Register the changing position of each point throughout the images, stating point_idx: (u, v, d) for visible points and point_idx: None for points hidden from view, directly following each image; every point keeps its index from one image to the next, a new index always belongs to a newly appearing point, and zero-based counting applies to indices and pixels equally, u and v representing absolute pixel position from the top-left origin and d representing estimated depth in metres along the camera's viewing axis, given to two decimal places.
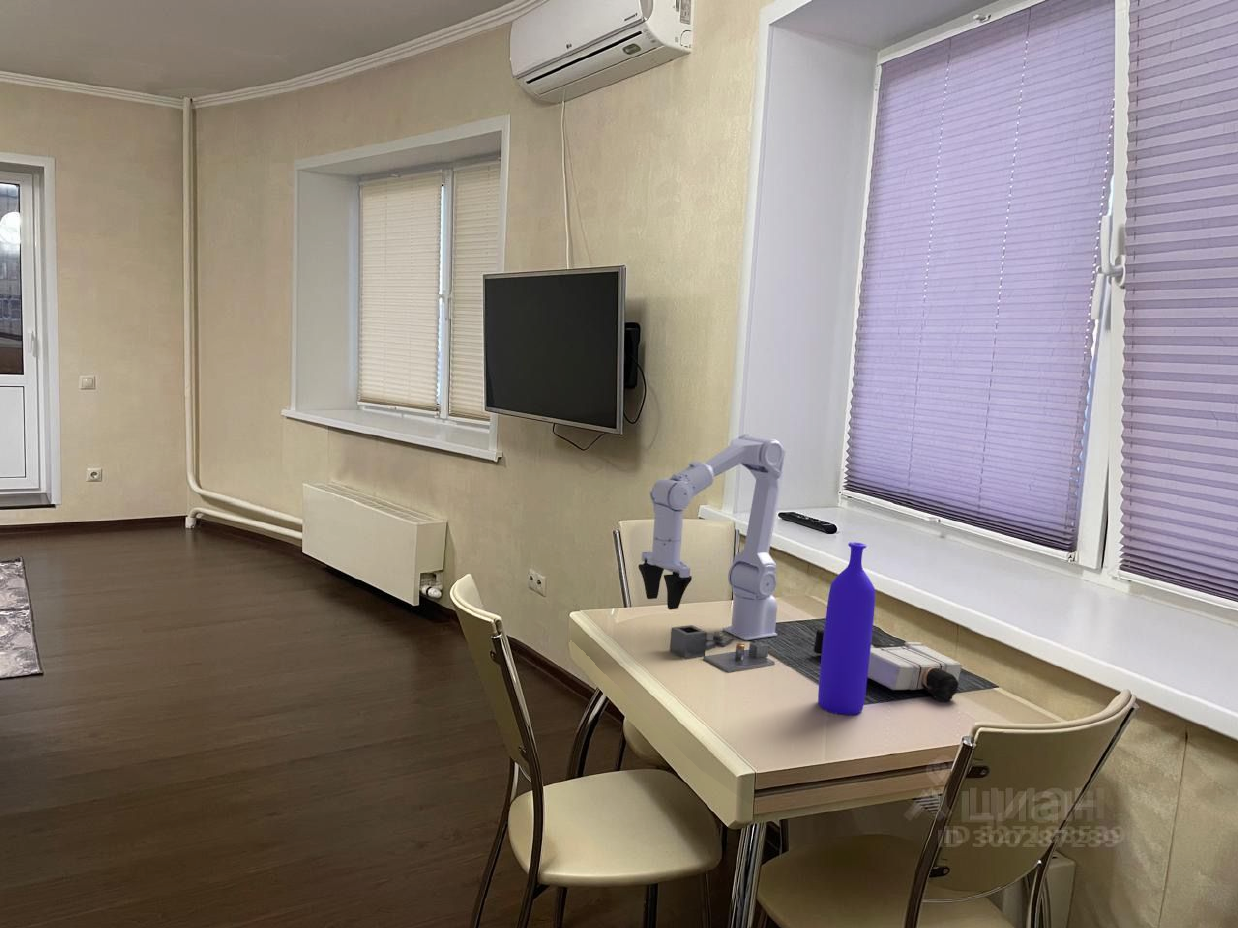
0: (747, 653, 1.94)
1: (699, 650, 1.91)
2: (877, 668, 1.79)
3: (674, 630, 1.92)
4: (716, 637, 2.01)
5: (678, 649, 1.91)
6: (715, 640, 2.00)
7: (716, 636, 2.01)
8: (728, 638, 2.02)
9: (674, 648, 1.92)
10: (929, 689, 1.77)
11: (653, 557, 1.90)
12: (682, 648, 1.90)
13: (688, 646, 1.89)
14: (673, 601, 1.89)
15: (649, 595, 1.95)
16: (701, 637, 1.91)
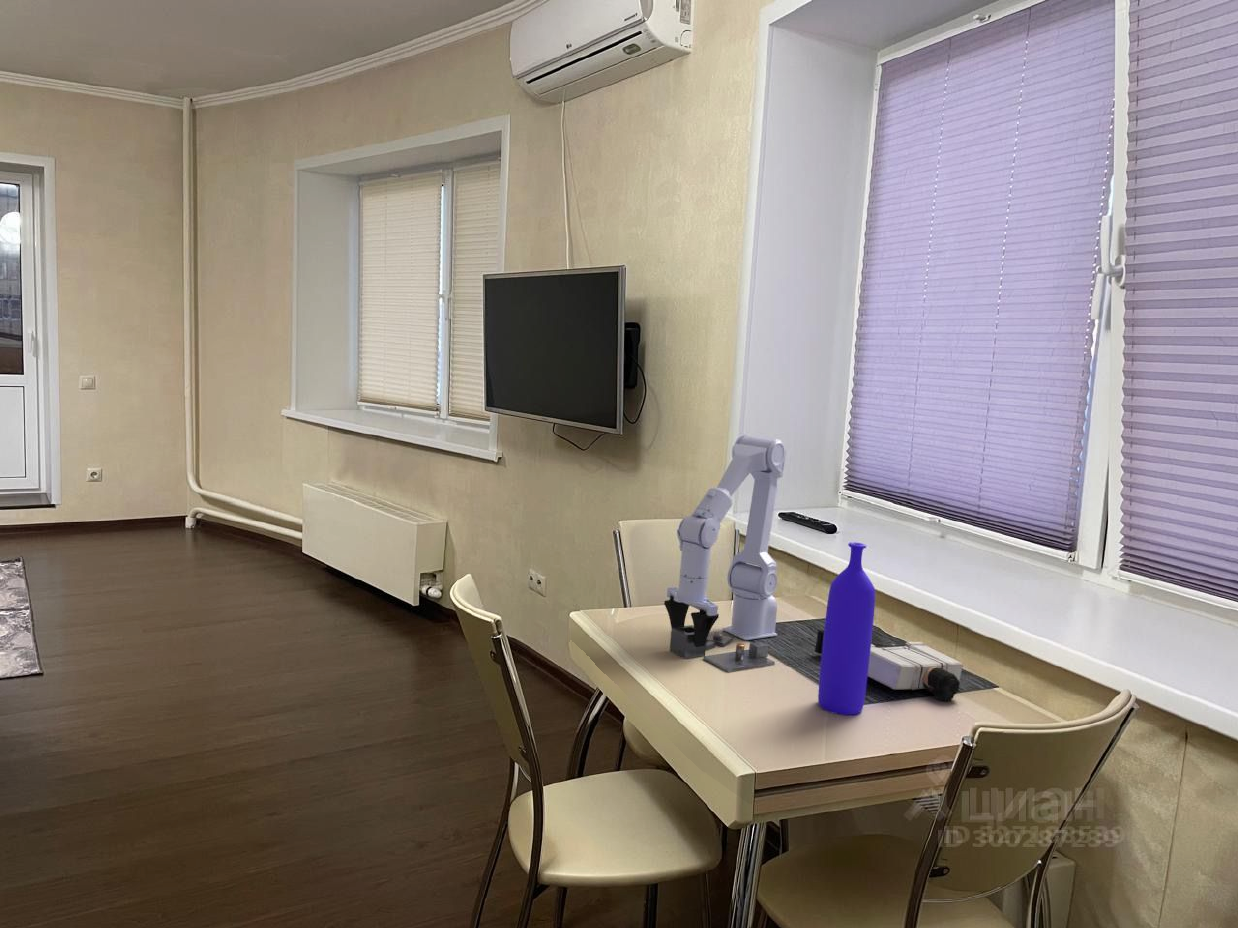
0: (747, 653, 1.94)
1: (699, 650, 1.91)
2: (878, 668, 1.79)
3: (674, 630, 1.92)
4: (716, 637, 2.01)
5: (678, 649, 1.91)
6: (715, 640, 2.00)
7: (716, 636, 2.01)
8: (728, 638, 2.02)
9: (674, 648, 1.92)
10: (930, 689, 1.77)
11: (680, 594, 1.90)
12: (682, 648, 1.90)
13: (688, 646, 1.89)
14: (700, 639, 1.89)
15: None
16: None
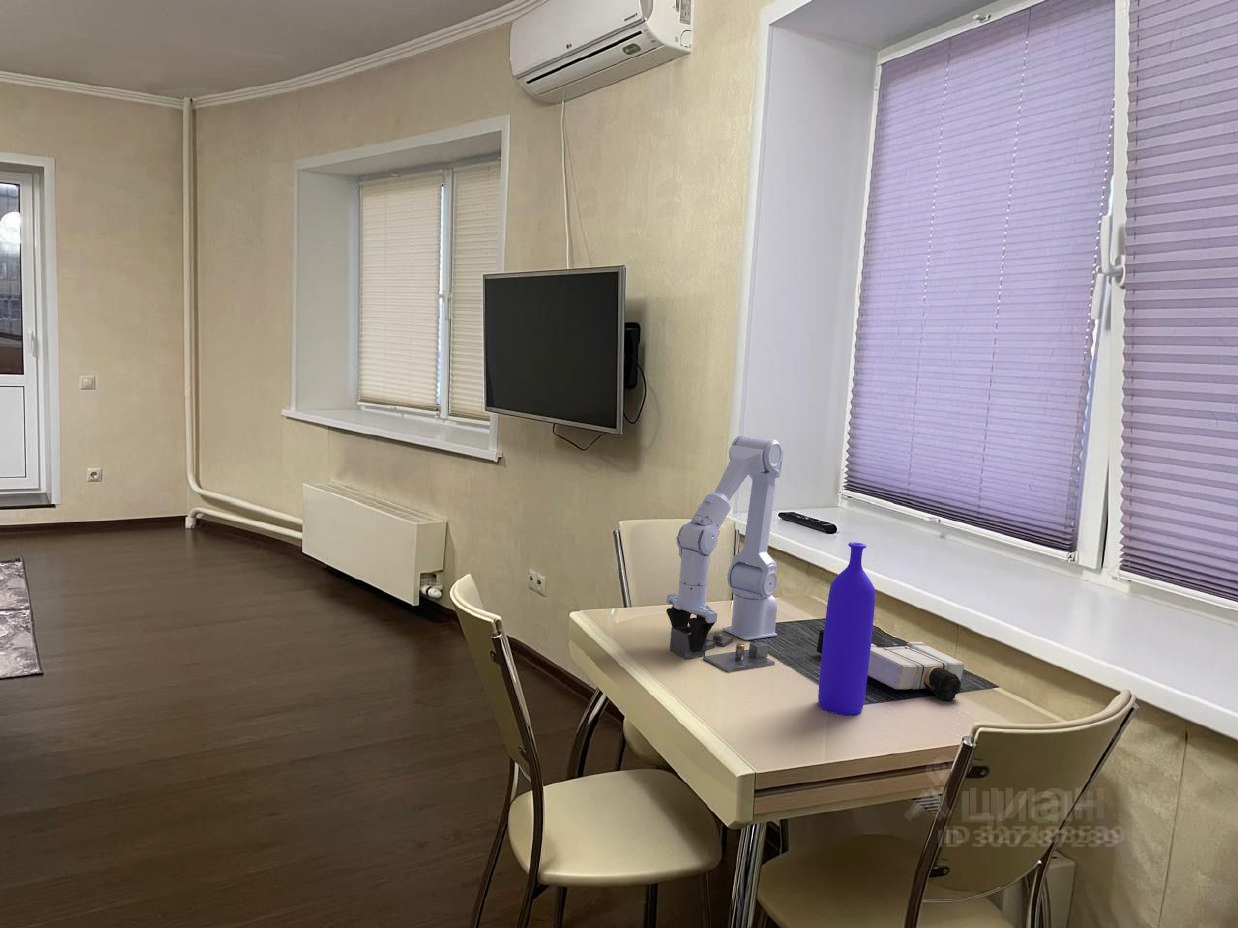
0: (747, 653, 1.94)
1: None
2: (880, 667, 1.79)
3: (674, 630, 1.92)
4: (716, 637, 2.01)
5: (678, 649, 1.91)
6: (715, 640, 2.00)
7: (716, 636, 2.01)
8: (728, 638, 2.02)
9: (674, 648, 1.92)
10: (932, 688, 1.78)
11: (679, 601, 1.90)
12: (682, 648, 1.90)
13: (688, 646, 1.89)
14: (697, 644, 1.90)
15: None
16: None
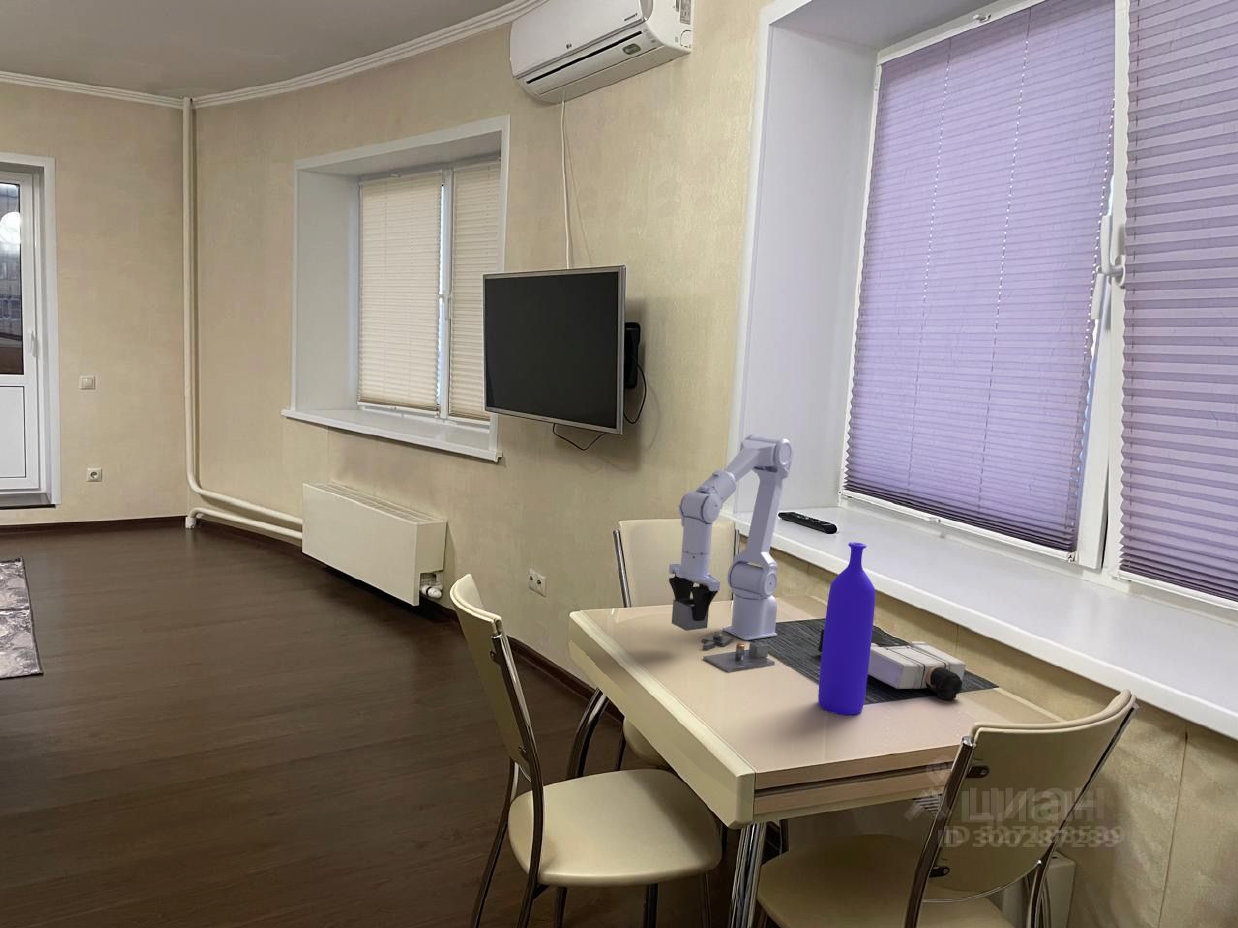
0: (747, 653, 1.94)
1: (701, 622, 1.90)
2: (881, 667, 1.80)
3: (676, 602, 1.91)
4: (716, 637, 2.01)
5: (680, 621, 1.90)
6: (715, 640, 2.00)
7: (716, 636, 2.01)
8: (728, 638, 2.02)
9: (676, 620, 1.92)
10: (933, 688, 1.78)
11: (682, 570, 1.89)
12: (684, 620, 1.89)
13: (690, 618, 1.89)
14: (699, 613, 1.89)
15: None
16: None
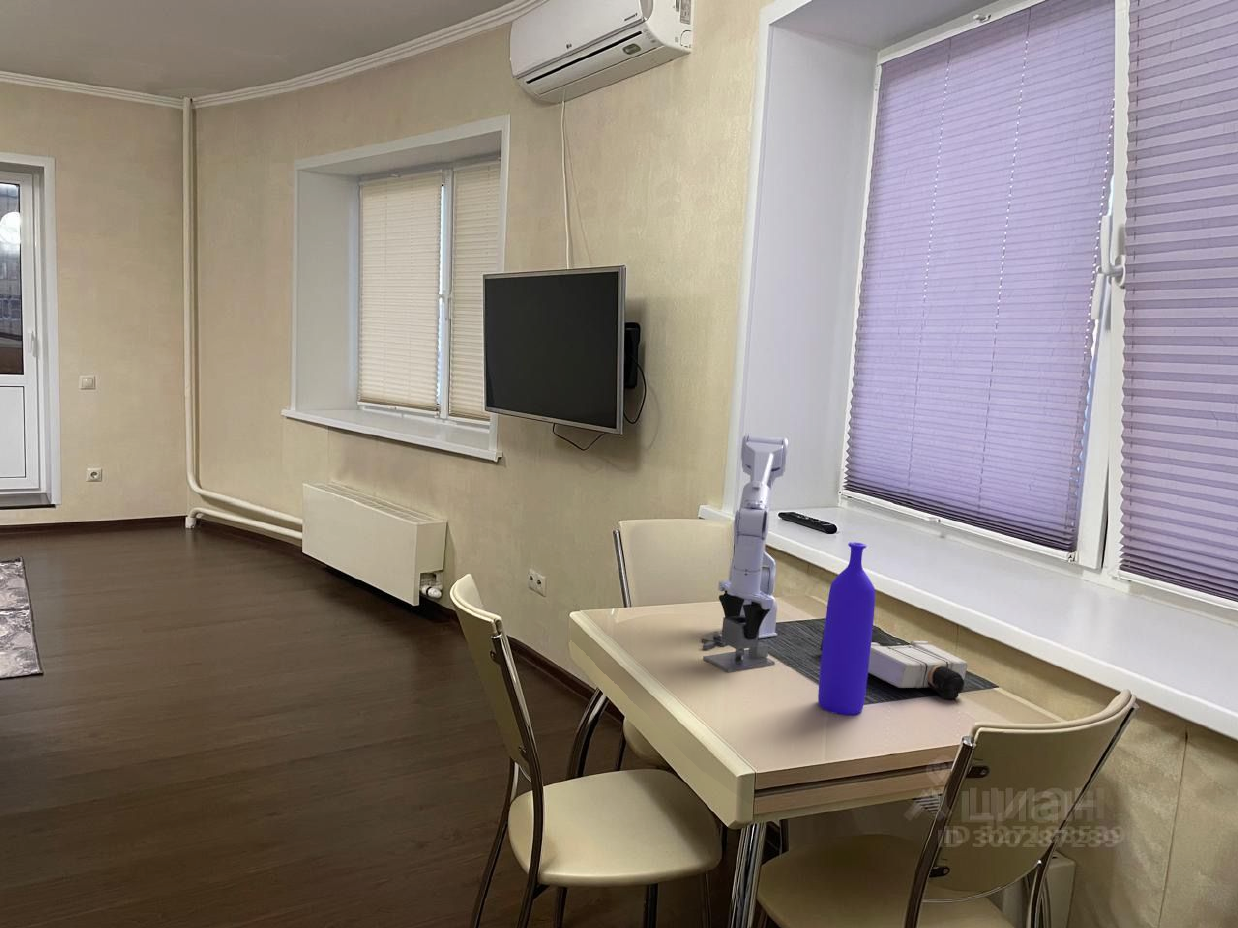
0: (747, 653, 1.94)
1: (752, 640, 1.88)
2: (883, 666, 1.80)
3: (726, 620, 1.89)
4: (716, 637, 2.01)
5: (730, 639, 1.88)
6: (715, 640, 2.00)
7: (716, 636, 2.01)
8: None
9: (726, 638, 1.89)
10: (935, 687, 1.78)
11: (733, 587, 1.87)
12: (734, 639, 1.86)
13: (741, 636, 1.86)
14: (751, 631, 1.86)
15: None
16: None
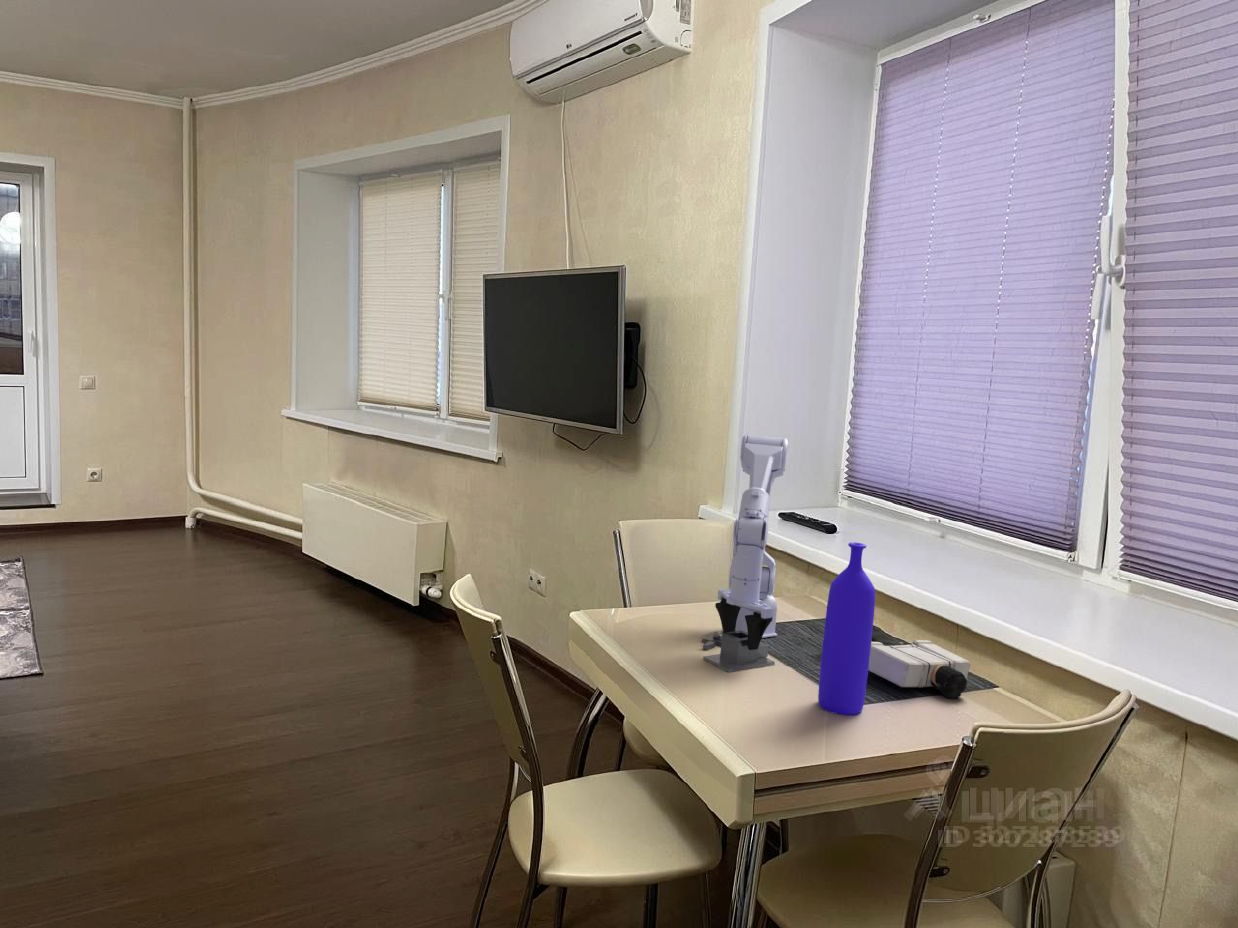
0: None
1: (751, 656, 1.88)
2: (886, 665, 1.81)
3: (725, 635, 1.89)
4: (716, 637, 2.01)
5: (729, 655, 1.88)
6: (715, 640, 2.00)
7: (716, 636, 2.01)
8: None
9: (725, 654, 1.89)
10: (938, 686, 1.79)
11: (732, 596, 1.87)
12: (734, 654, 1.87)
13: (740, 652, 1.86)
14: (753, 641, 1.86)
15: None
16: None
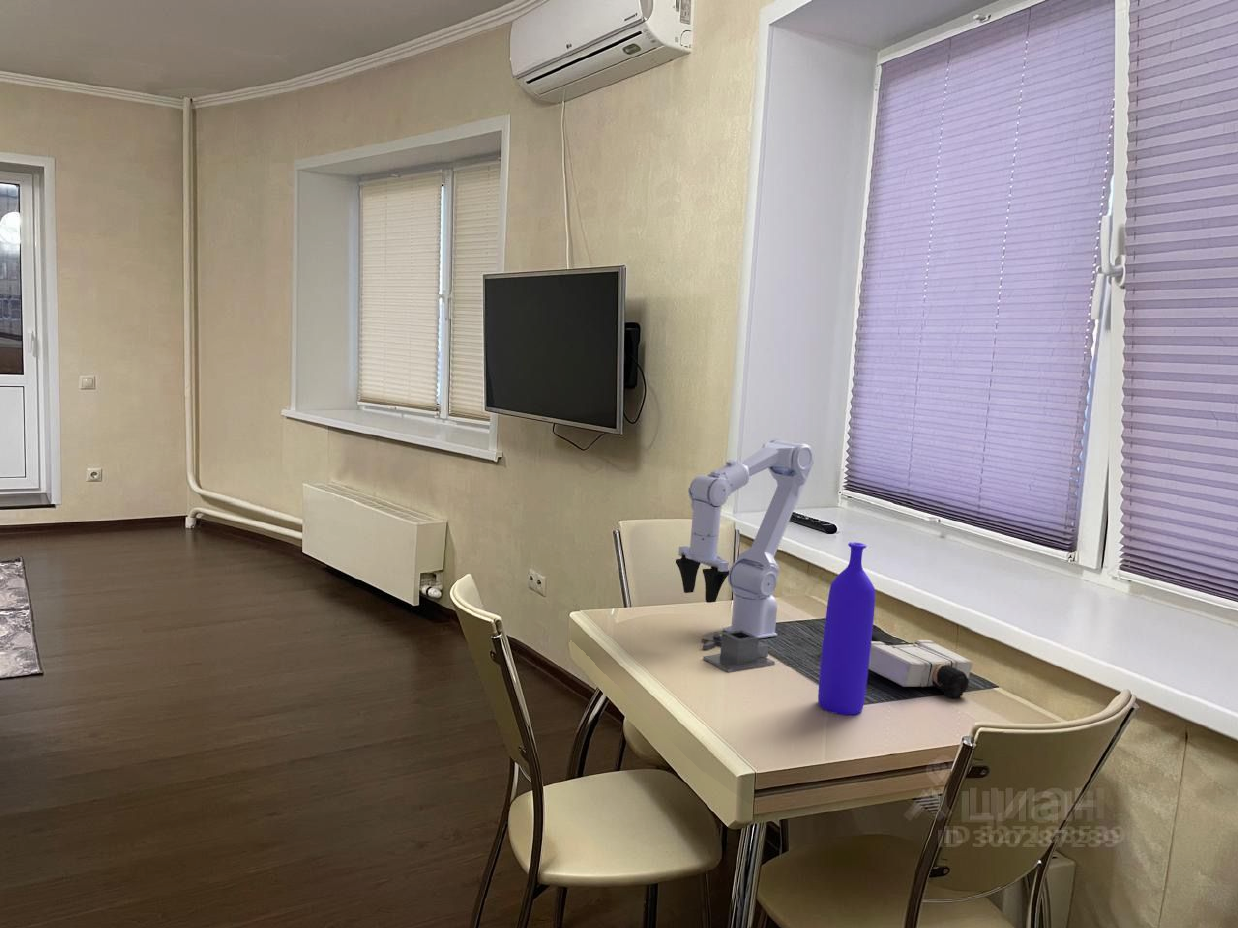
0: None
1: (751, 656, 1.88)
2: (888, 665, 1.81)
3: (725, 635, 1.89)
4: (716, 637, 2.01)
5: (729, 655, 1.88)
6: (715, 640, 2.00)
7: (716, 636, 2.01)
8: None
9: (725, 654, 1.89)
10: (940, 686, 1.79)
11: (691, 552, 1.95)
12: (734, 654, 1.87)
13: (740, 652, 1.86)
14: (711, 594, 1.94)
15: (686, 589, 2.00)
16: (753, 643, 1.88)
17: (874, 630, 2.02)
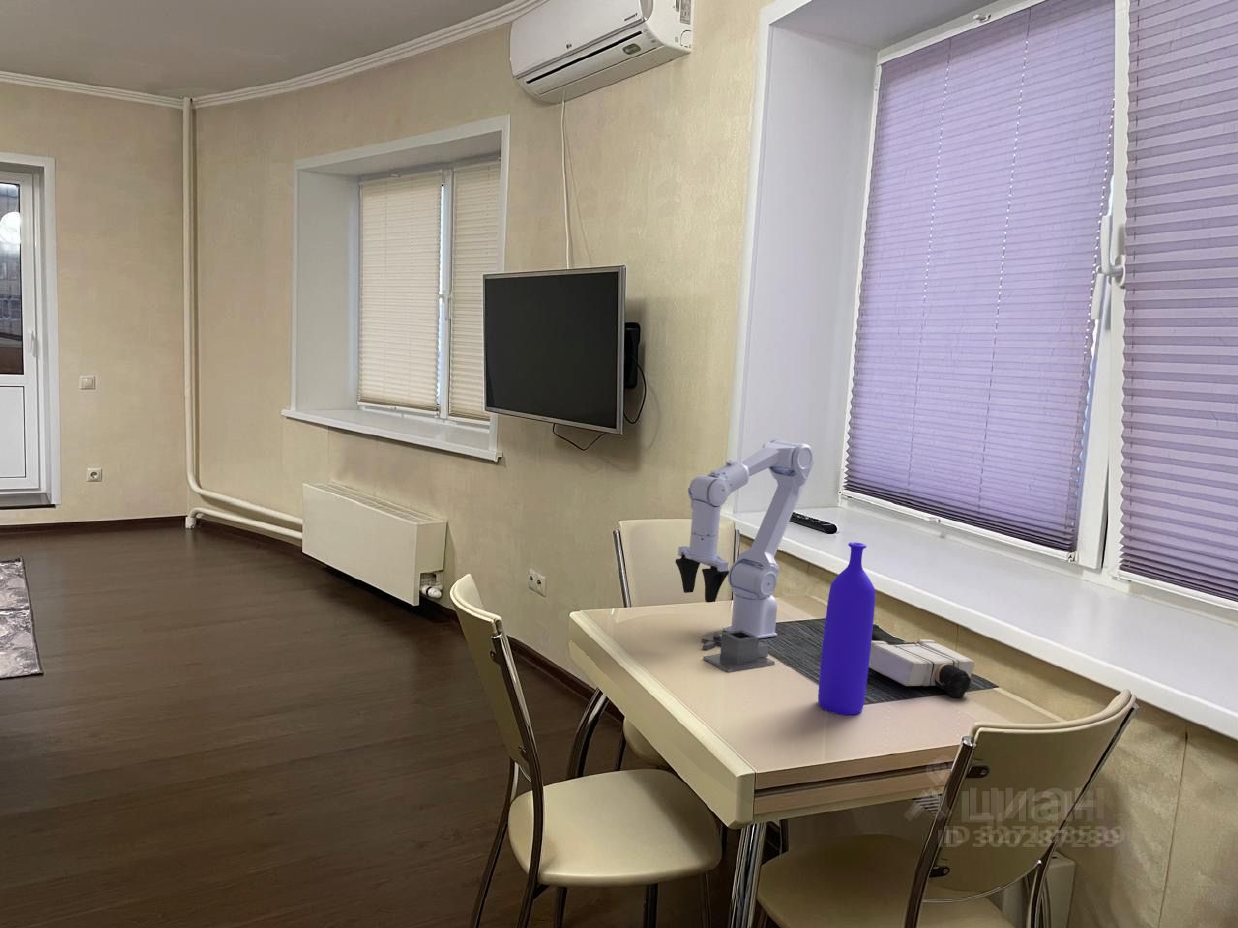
0: None
1: (751, 656, 1.88)
2: (890, 664, 1.82)
3: (725, 635, 1.89)
4: (716, 637, 2.01)
5: (729, 655, 1.88)
6: (715, 640, 2.00)
7: (716, 636, 2.01)
8: None
9: (725, 654, 1.89)
10: (942, 685, 1.80)
11: (691, 551, 1.95)
12: (734, 654, 1.87)
13: (740, 652, 1.86)
14: (711, 594, 1.94)
15: (686, 589, 2.00)
16: (753, 643, 1.88)
17: (876, 630, 2.03)
